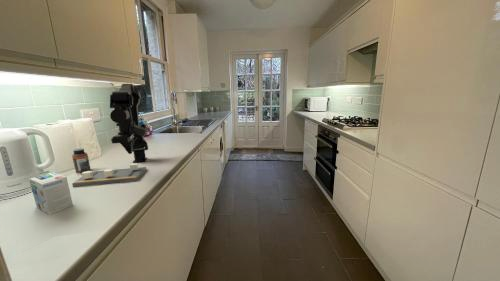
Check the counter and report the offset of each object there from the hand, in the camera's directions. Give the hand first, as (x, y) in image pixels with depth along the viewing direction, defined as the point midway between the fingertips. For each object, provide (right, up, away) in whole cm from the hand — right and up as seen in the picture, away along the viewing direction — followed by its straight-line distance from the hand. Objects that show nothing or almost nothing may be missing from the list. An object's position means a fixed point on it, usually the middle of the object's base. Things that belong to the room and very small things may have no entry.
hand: (130, 153), depth 95 cm
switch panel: (-8, -11, 0) cm, 14 cm away
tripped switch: (0, -8, +4) cm, 9 cm away
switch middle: (-7, -10, -4) cm, 13 cm away
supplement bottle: (-29, -9, +9) cm, 32 cm away
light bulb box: (-12, -17, -24) cm, 32 cm away
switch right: (-16, -10, -5) cm, 19 cm away
